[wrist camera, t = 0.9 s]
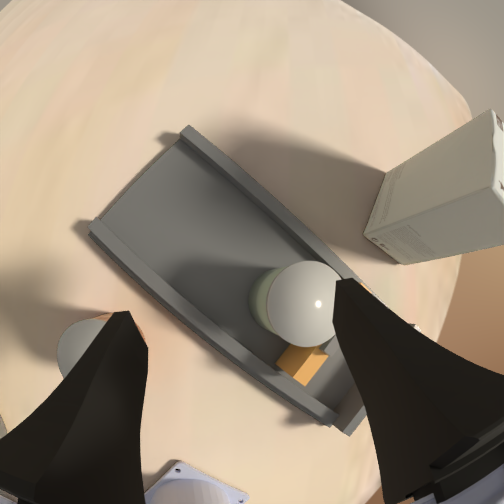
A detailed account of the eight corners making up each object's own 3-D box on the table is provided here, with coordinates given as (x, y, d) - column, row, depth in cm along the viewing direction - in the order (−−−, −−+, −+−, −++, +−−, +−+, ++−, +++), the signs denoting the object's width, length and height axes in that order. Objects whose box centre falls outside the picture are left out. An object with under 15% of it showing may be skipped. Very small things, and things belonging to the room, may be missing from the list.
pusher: (285, 371, 23) (309, 389, 18) (274, 363, 22) (296, 380, 18) (344, 292, 24) (378, 292, 20) (335, 283, 24) (367, 282, 20)
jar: (122, 389, 20) (106, 418, 15) (73, 345, 20) (43, 361, 14) (160, 342, 21) (153, 361, 16) (109, 297, 21) (86, 301, 15)
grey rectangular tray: (326, 425, 24) (345, 441, 20) (90, 236, 21) (75, 227, 17) (399, 322, 26) (423, 325, 23) (192, 131, 24) (194, 108, 20)
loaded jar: (283, 346, 23) (314, 362, 17) (233, 305, 22) (250, 311, 17) (322, 295, 24) (361, 296, 18) (275, 253, 24) (304, 242, 18)
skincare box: (401, 266, 27) (532, 249, 13) (357, 233, 26) (493, 190, 12) (422, 200, 29) (532, 159, 14) (384, 166, 28) (494, 103, 14)
